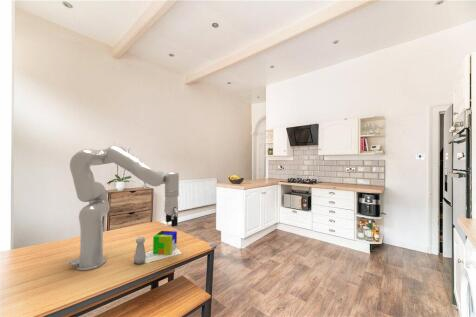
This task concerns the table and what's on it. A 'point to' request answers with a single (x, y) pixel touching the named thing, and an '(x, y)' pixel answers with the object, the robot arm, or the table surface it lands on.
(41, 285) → the table surface
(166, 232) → the puzzle toy
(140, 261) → the salt shaker
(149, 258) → the letter
